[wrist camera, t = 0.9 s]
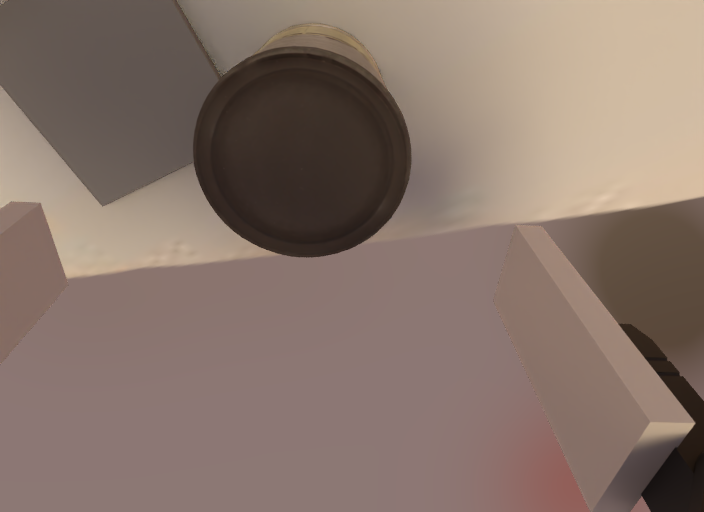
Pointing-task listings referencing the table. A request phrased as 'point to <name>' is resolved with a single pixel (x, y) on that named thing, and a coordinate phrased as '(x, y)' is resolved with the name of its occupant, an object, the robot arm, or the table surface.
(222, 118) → the coffee can
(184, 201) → the table surface
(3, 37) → the slate coaster
